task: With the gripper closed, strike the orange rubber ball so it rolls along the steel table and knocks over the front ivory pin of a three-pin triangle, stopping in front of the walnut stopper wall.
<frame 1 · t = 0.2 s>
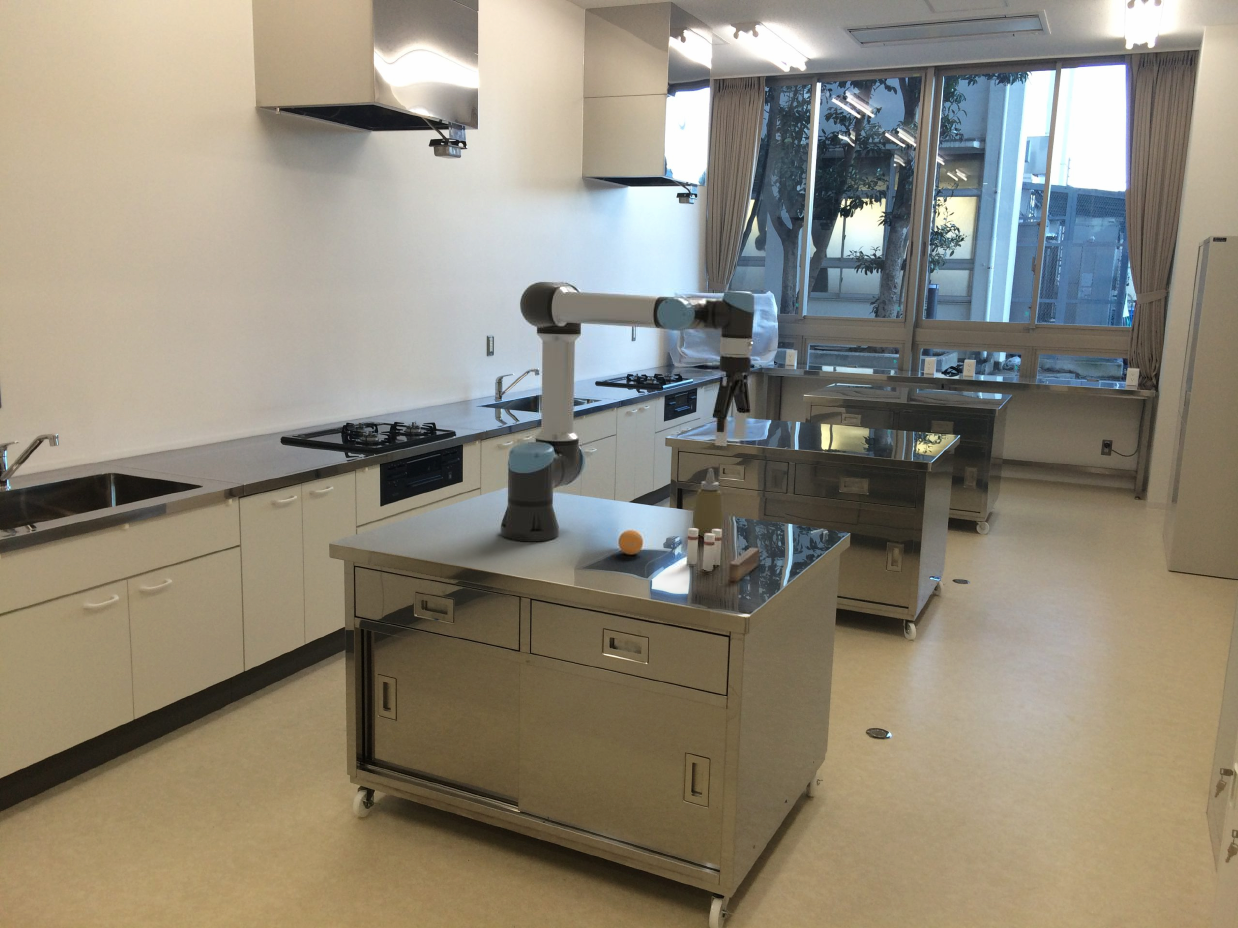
hand: (730, 441, 241), 28 cm above the table, tool pointing down, fingers open, 13 cm apart
front pin: (691, 563, 233), on the table
left back pin: (714, 564, 233), on the table
stopper wall: (743, 572, 227), on the table
orange ball: (630, 542, 239), on the table
squeeze bottle: (707, 536, 260), on the table
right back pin: (707, 569, 228), on the table
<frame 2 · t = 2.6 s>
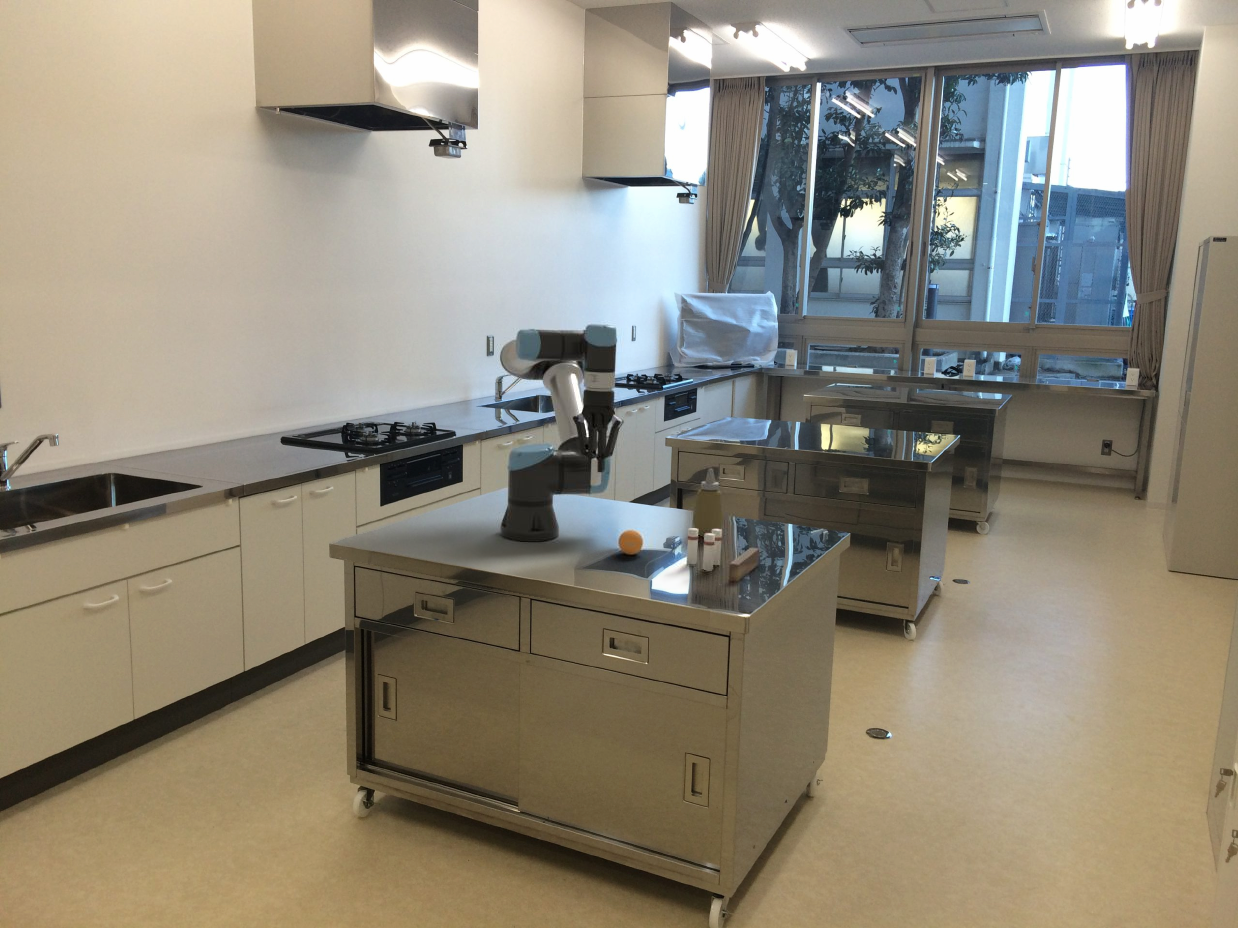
hand: (595, 484, 240), 16 cm above the table, tool pointing down, fingers closed
nothing on the table moved.
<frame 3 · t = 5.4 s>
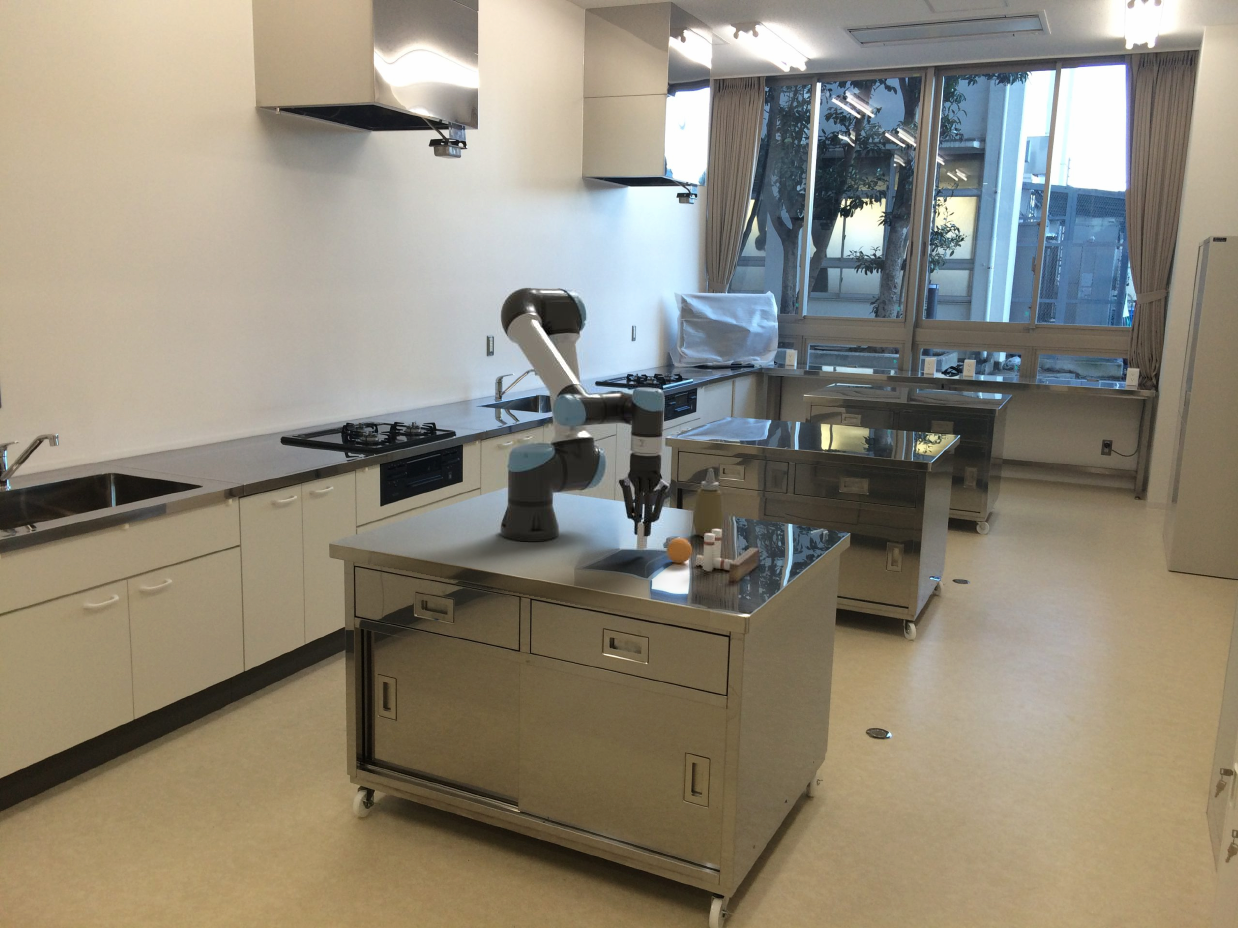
hand: (641, 548, 238), 2 cm above the table, tool pointing down, fingers closed
front pin: (697, 560, 232), point 1 cm above the table, tilted 90°
orange ball: (679, 550, 233), on the table
everything else where it was.
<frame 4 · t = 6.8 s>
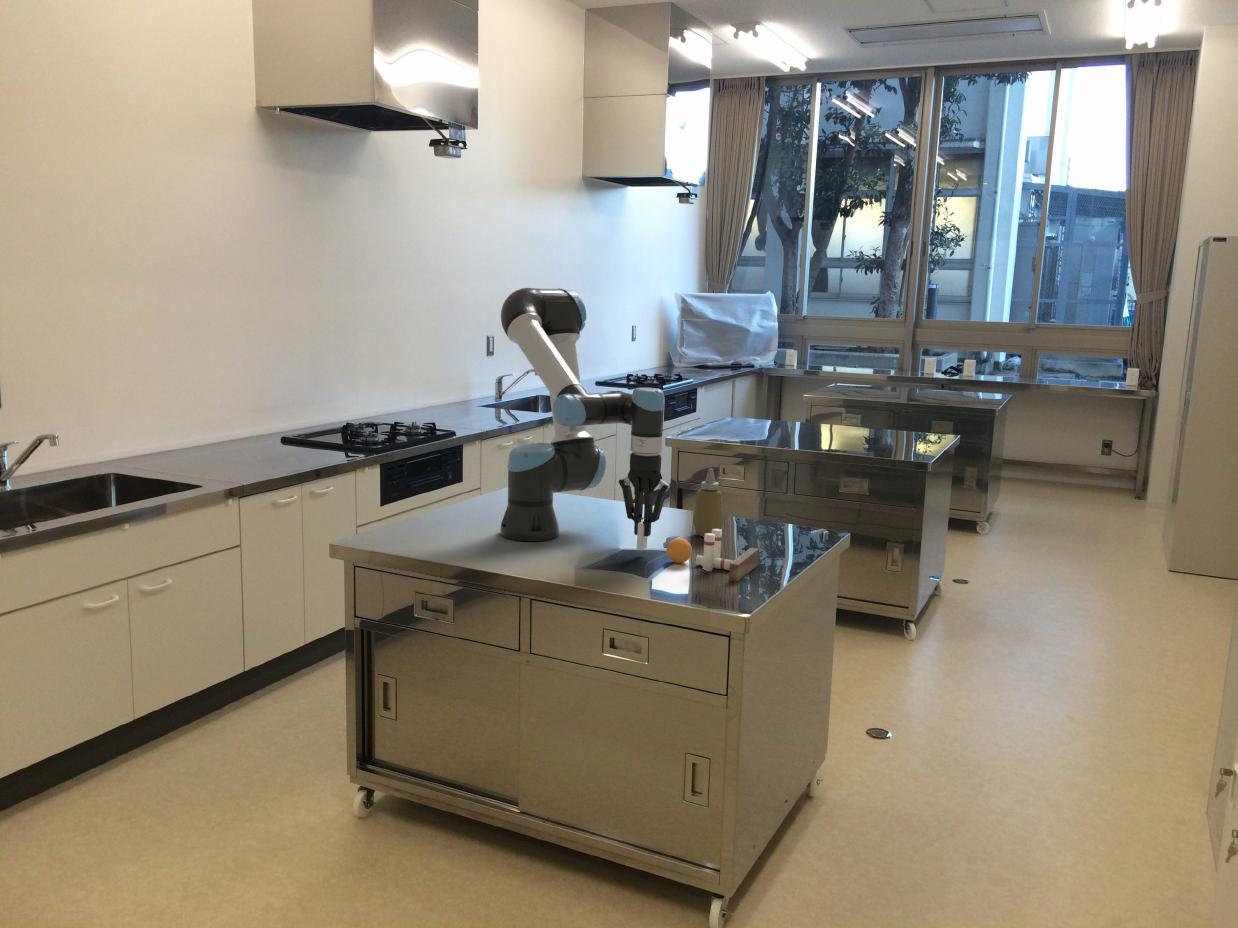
hand: (641, 548, 238), 2 cm above the table, tool pointing down, fingers closed
nothing on the table moved.
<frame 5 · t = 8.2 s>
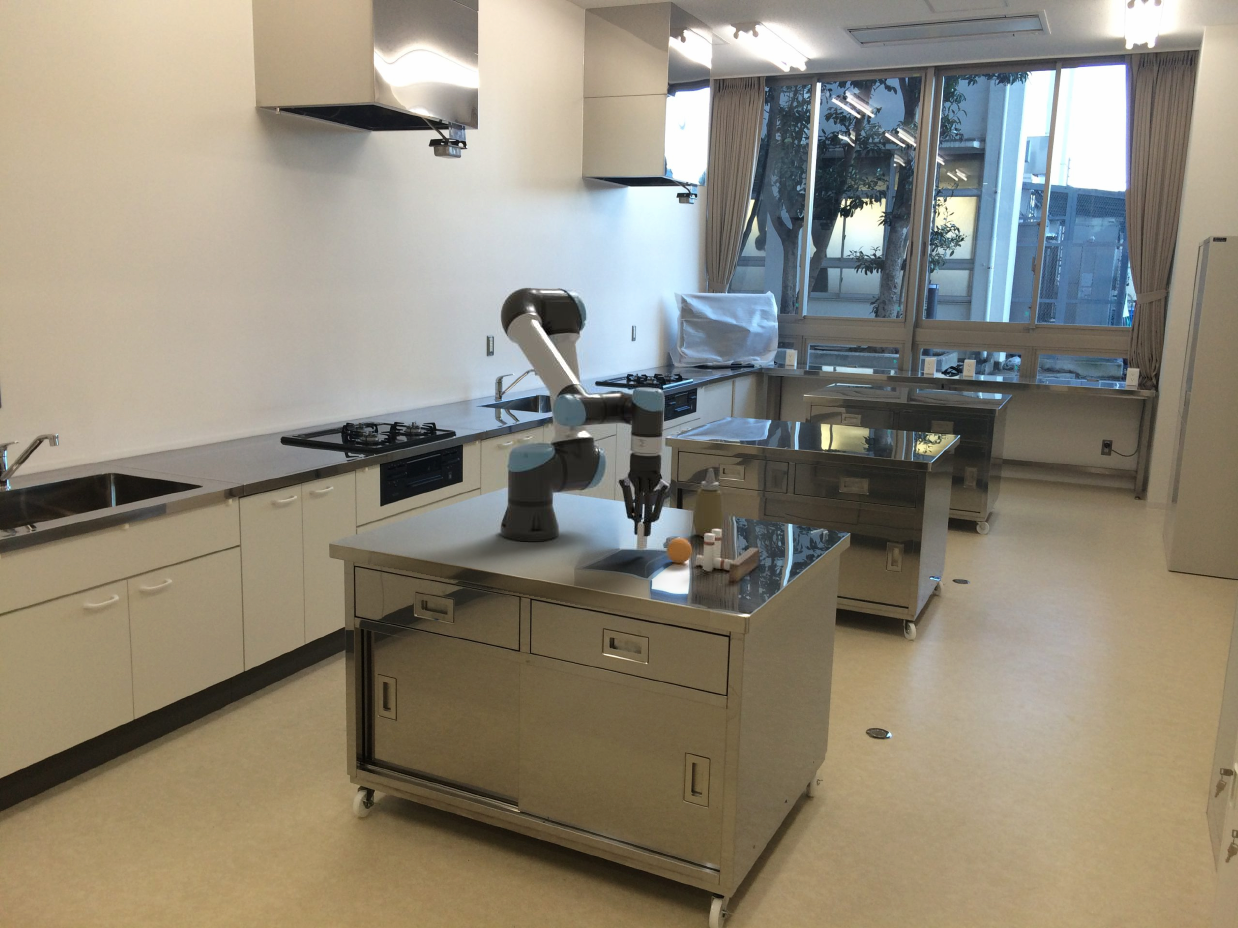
hand: (641, 548, 238), 2 cm above the table, tool pointing down, fingers closed
nothing on the table moved.
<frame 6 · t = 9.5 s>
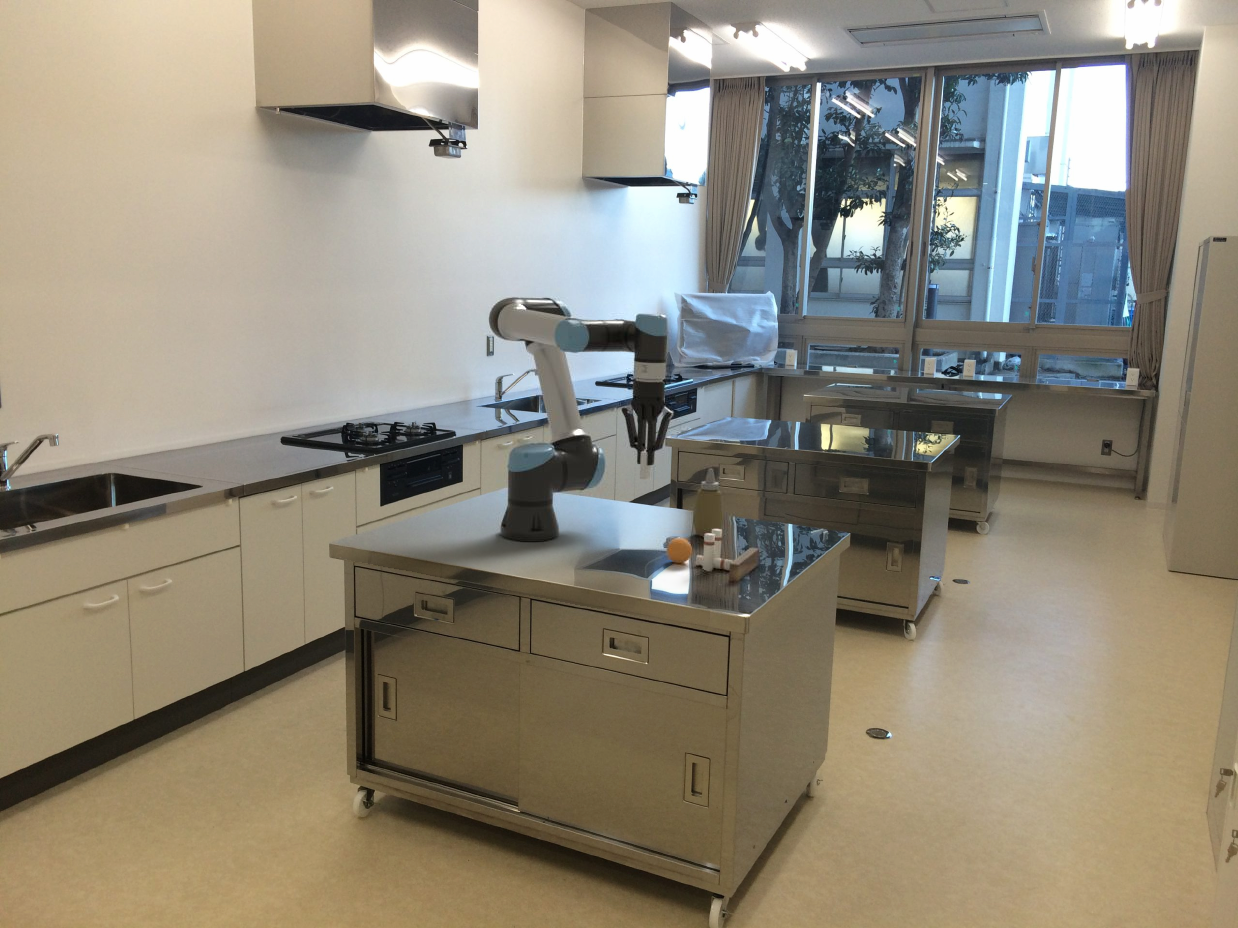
hand: (644, 478, 235), 19 cm above the table, tool pointing down, fingers closed
nothing on the table moved.
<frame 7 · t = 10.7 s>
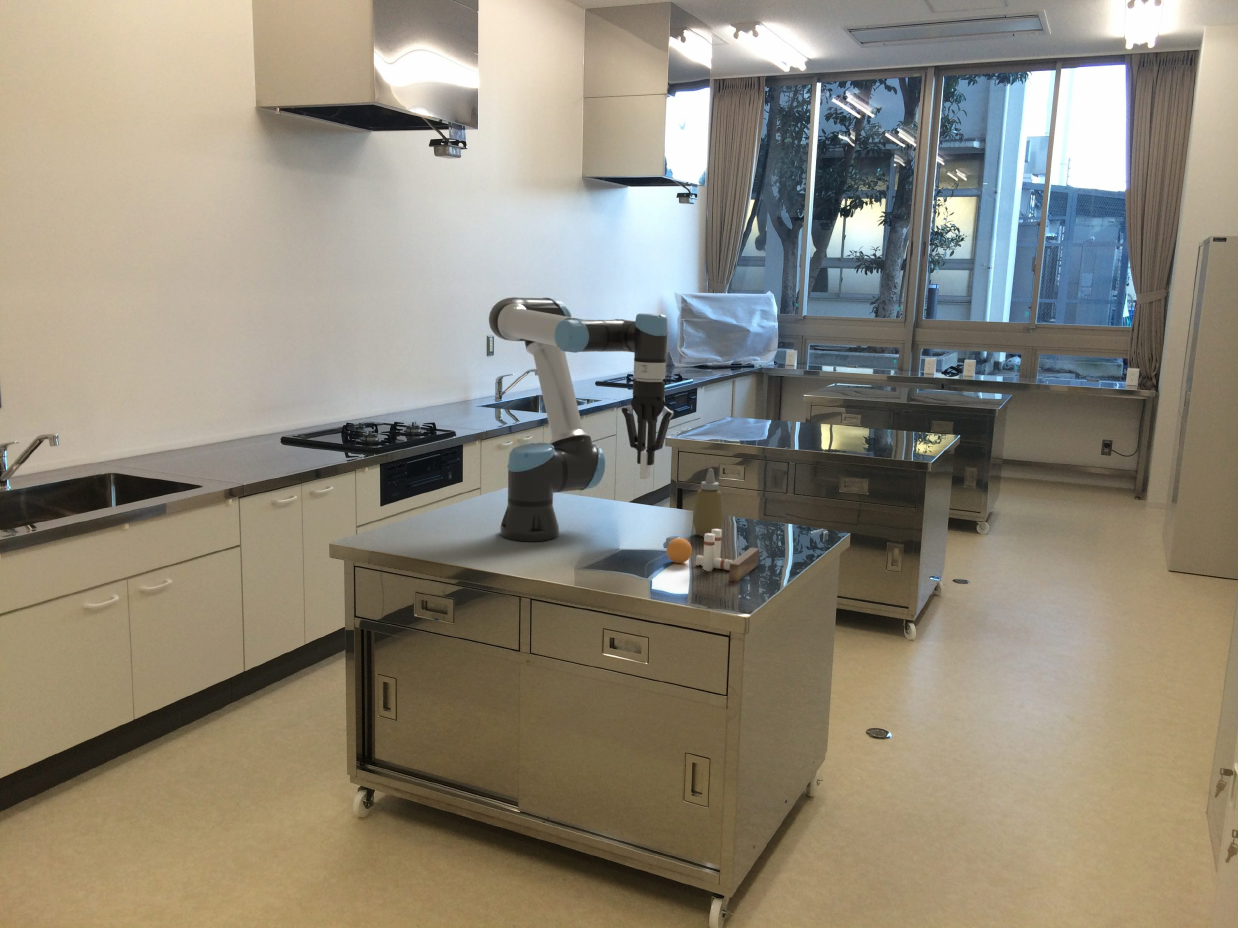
hand: (644, 477, 234), 19 cm above the table, tool pointing down, fingers closed
nothing on the table moved.
at the end: front pin tilted 90°; front pin never touched the robot; orange ball moved 13.0 cm from its start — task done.
